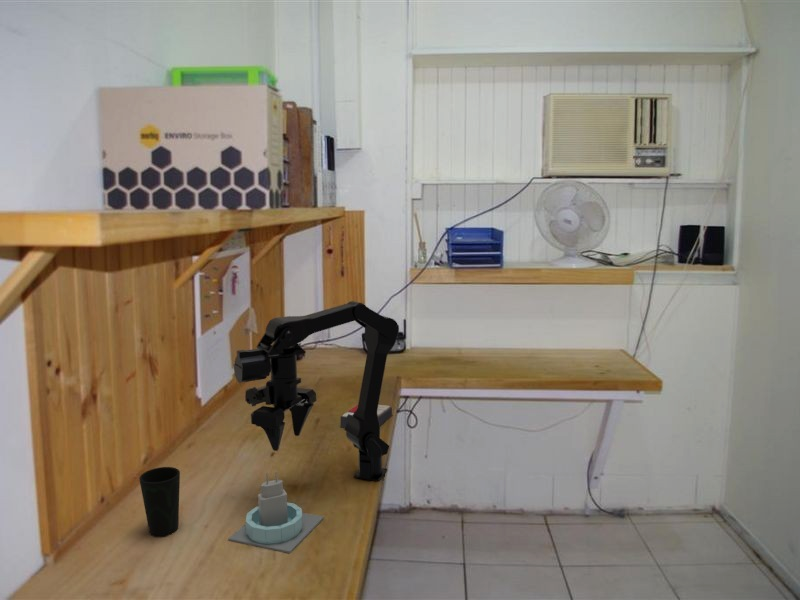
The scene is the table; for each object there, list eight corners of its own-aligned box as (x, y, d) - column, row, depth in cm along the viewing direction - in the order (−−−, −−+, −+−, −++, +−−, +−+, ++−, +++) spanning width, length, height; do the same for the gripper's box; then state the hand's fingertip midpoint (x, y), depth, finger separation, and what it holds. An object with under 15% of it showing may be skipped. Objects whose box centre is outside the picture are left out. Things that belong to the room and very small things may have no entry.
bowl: (266, 512, 133) (265, 498, 133) (312, 521, 129) (311, 506, 129) (235, 538, 123) (234, 523, 122) (284, 548, 119) (283, 533, 118)
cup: (188, 519, 131) (184, 466, 129) (176, 539, 124) (172, 482, 122) (151, 520, 131) (147, 467, 129) (137, 540, 123) (133, 483, 121)
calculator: (392, 405, 194) (374, 418, 180) (392, 418, 194) (374, 432, 180) (360, 401, 198) (339, 414, 183) (360, 414, 198) (339, 428, 184)
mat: (266, 507, 136) (266, 506, 136) (323, 518, 131) (323, 516, 131) (228, 540, 123) (228, 538, 123) (289, 553, 118) (289, 551, 118)
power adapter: (258, 527, 126) (255, 471, 124) (284, 520, 128) (282, 466, 126) (262, 534, 123) (259, 477, 121) (289, 527, 126) (286, 471, 124)
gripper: (274, 362, 148) (277, 424, 150) (227, 383, 130) (231, 453, 133) (316, 366, 144) (318, 430, 146) (273, 388, 127) (276, 460, 129)
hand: (286, 442), depth 139 cm, fingers open, 9 cm apart
